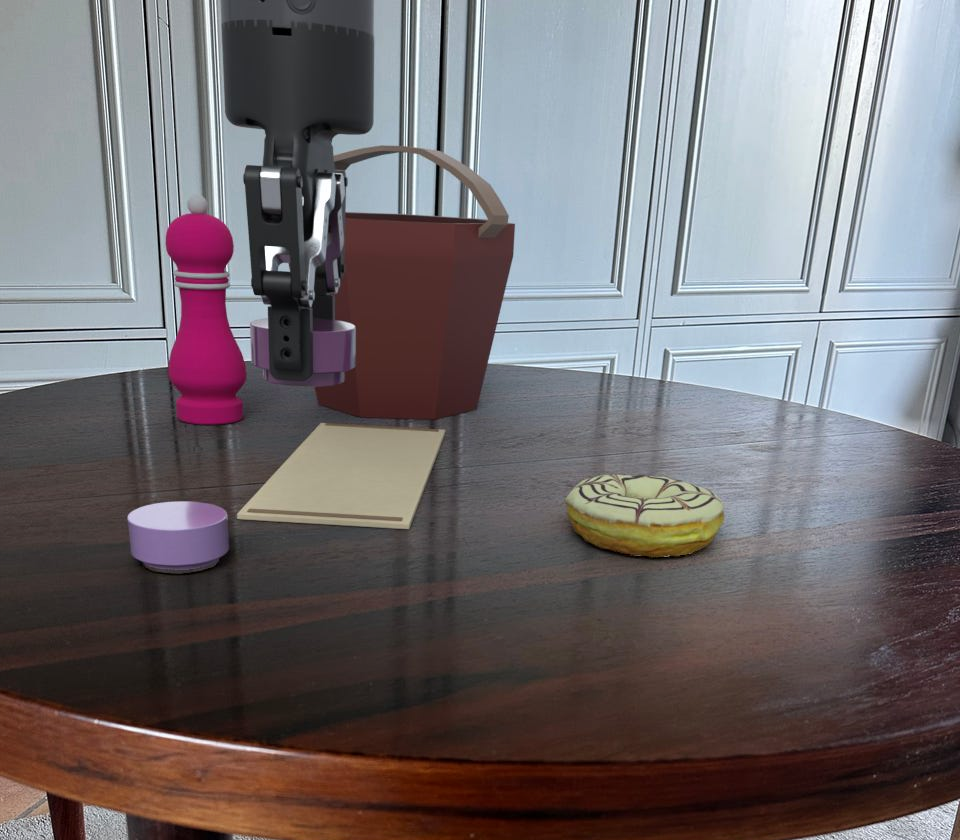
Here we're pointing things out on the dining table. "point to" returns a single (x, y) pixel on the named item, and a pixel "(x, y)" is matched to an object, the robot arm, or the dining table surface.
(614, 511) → the decorated donut
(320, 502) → the placemat
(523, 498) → the dining table surface
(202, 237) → the pepper mill
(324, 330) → the plum dish
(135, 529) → the lilac dish
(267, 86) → the robot arm
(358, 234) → the bucket
